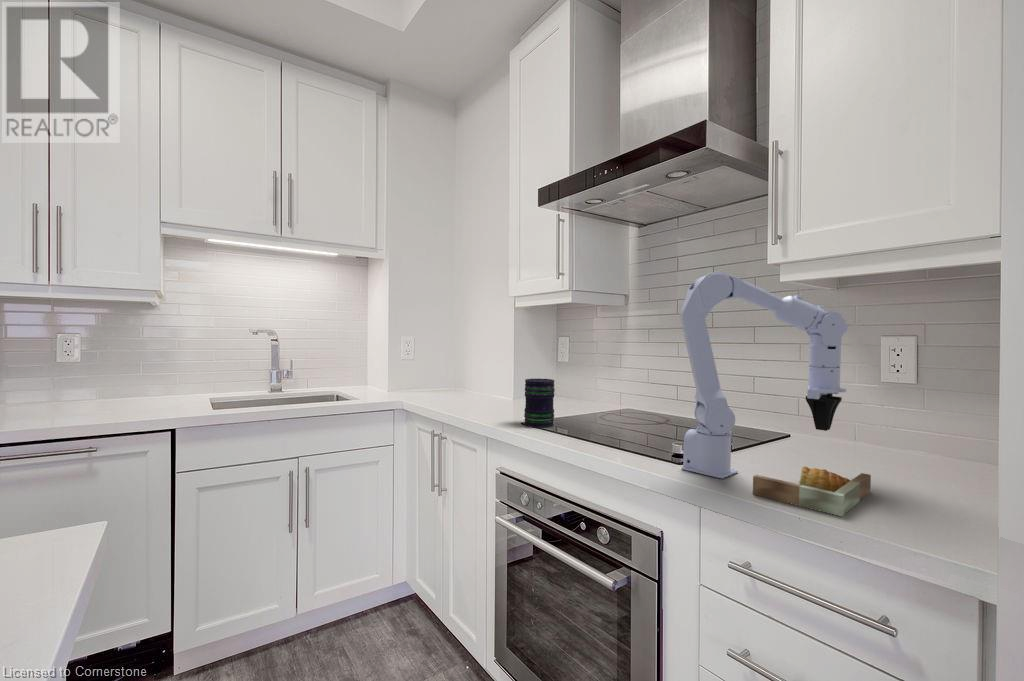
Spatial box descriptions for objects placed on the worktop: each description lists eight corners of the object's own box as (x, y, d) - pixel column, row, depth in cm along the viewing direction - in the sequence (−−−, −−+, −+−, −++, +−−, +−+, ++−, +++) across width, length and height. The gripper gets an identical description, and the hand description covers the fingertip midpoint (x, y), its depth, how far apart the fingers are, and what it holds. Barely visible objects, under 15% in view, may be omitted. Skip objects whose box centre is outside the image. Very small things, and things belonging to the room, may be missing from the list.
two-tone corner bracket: (752, 494, 92) (753, 476, 92) (789, 475, 105) (789, 459, 105) (841, 516, 81) (841, 496, 81) (870, 492, 94) (870, 474, 94)
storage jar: (532, 429, 151) (532, 381, 151) (519, 423, 160) (519, 378, 160) (559, 427, 155) (560, 381, 155) (545, 421, 164) (546, 378, 164)
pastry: (855, 489, 97) (855, 470, 97) (854, 498, 91) (855, 479, 91) (801, 480, 102) (801, 462, 102) (797, 488, 97) (798, 470, 97)
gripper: (835, 369, 96) (834, 437, 96) (855, 366, 105) (854, 428, 106) (796, 367, 101) (795, 431, 101) (819, 364, 111) (817, 423, 111)
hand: (822, 429), depth 104 cm, fingers closed
